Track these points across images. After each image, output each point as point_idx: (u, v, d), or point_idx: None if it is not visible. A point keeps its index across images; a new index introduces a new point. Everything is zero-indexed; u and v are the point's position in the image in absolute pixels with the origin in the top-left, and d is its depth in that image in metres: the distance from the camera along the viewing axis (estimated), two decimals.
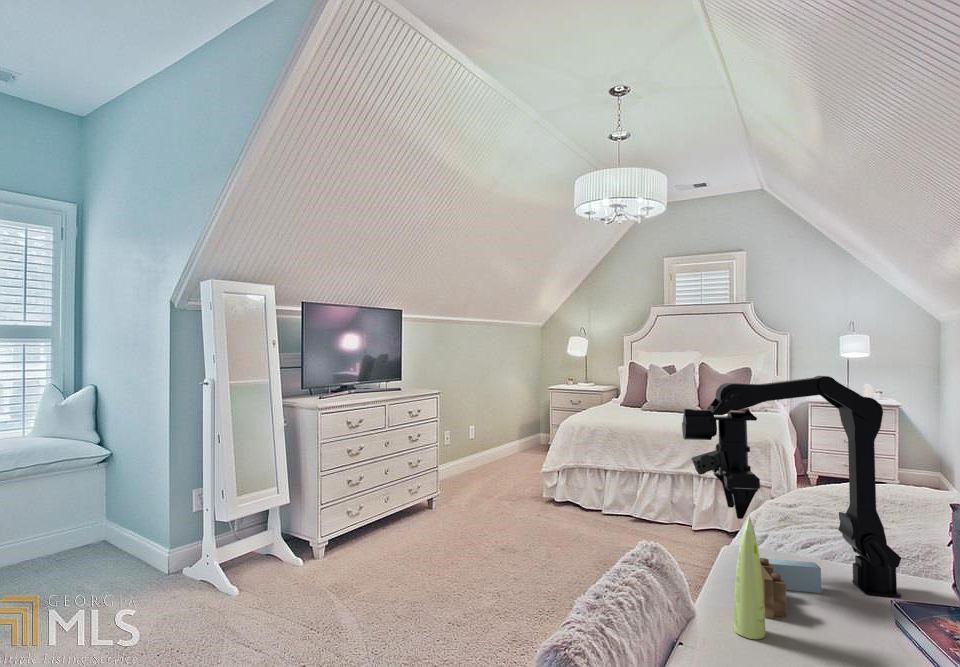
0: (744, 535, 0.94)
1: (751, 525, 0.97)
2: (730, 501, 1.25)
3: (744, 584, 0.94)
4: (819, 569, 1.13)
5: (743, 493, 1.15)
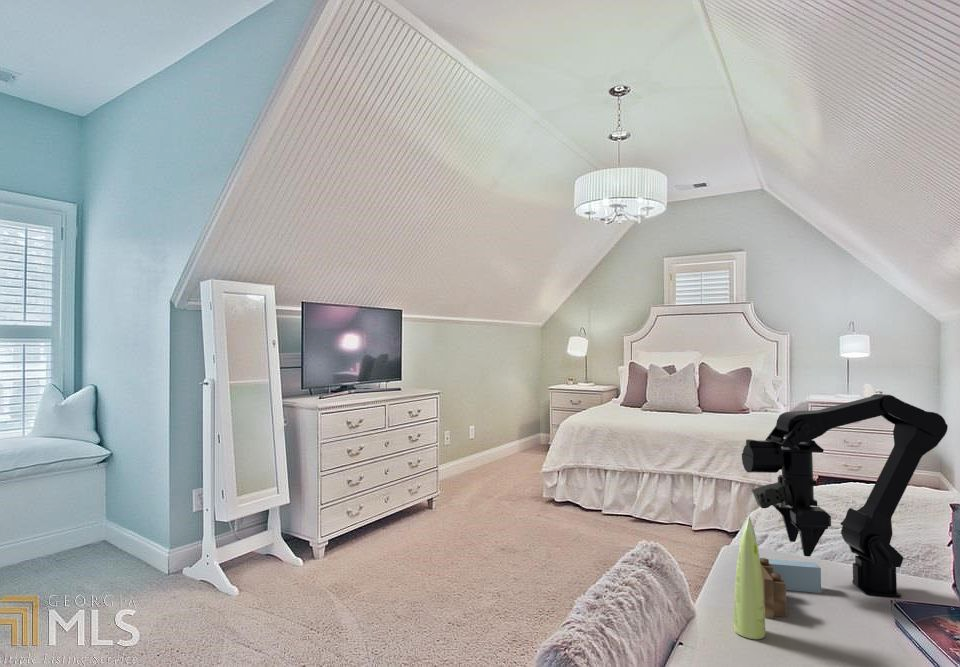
0: (744, 535, 0.94)
1: (751, 525, 0.97)
2: (792, 535, 1.20)
3: (744, 584, 0.94)
4: (819, 569, 1.13)
5: (811, 529, 1.10)
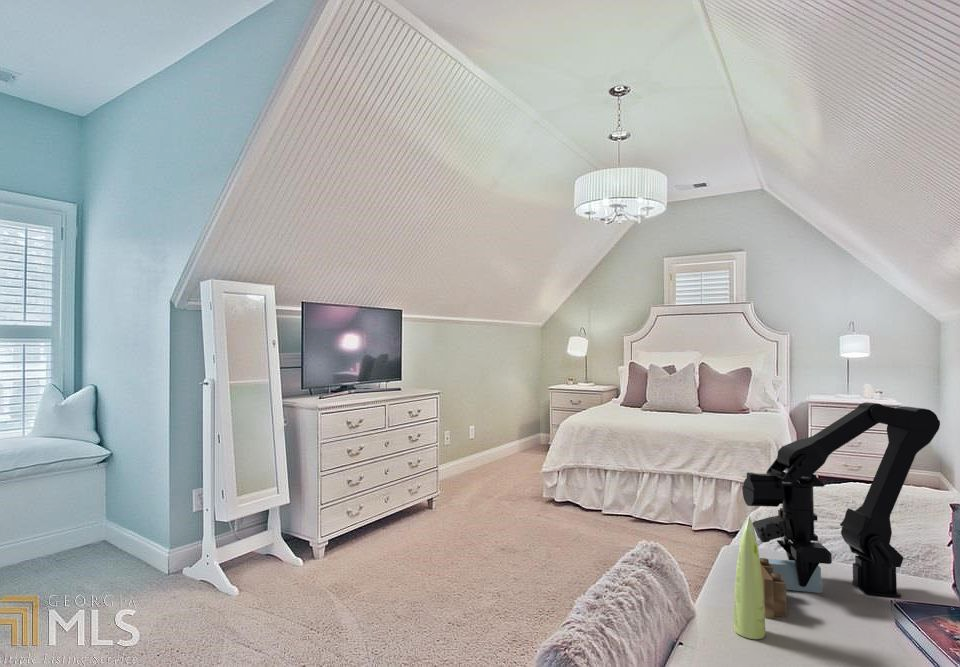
0: (744, 535, 0.94)
1: (751, 525, 0.97)
2: None
3: (744, 584, 0.94)
4: (819, 569, 1.13)
5: None
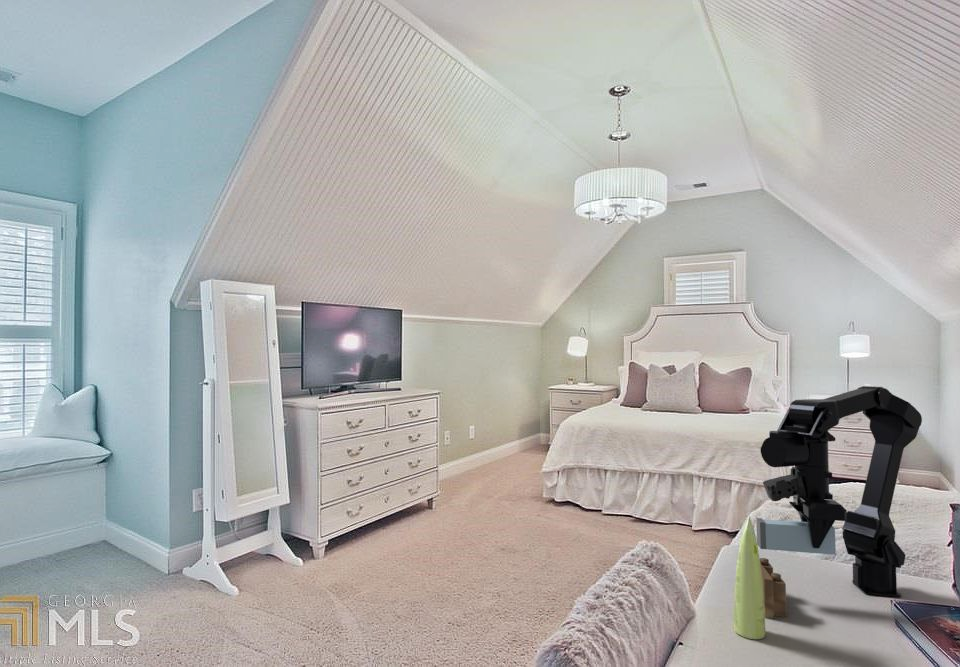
0: (744, 535, 0.94)
1: (751, 525, 0.97)
2: None
3: (744, 584, 0.94)
4: (833, 529, 1.06)
5: (820, 520, 1.06)
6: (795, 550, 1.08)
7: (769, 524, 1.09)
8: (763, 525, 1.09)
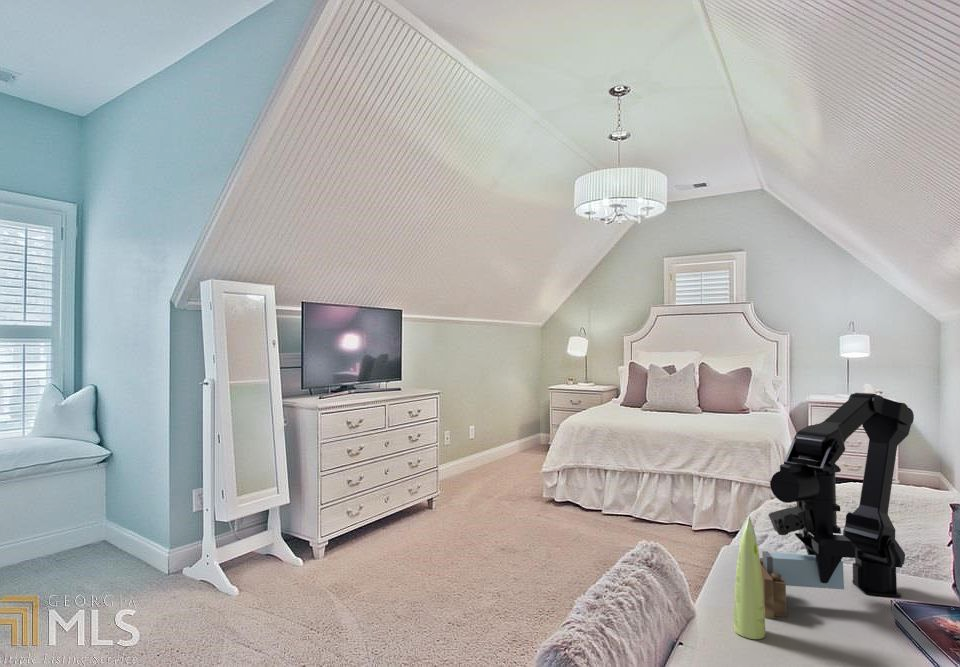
0: (744, 535, 0.94)
1: (751, 525, 0.97)
2: None
3: (744, 584, 0.94)
4: (841, 564, 1.04)
5: None
6: (803, 585, 1.05)
7: (776, 559, 1.07)
8: (770, 560, 1.07)
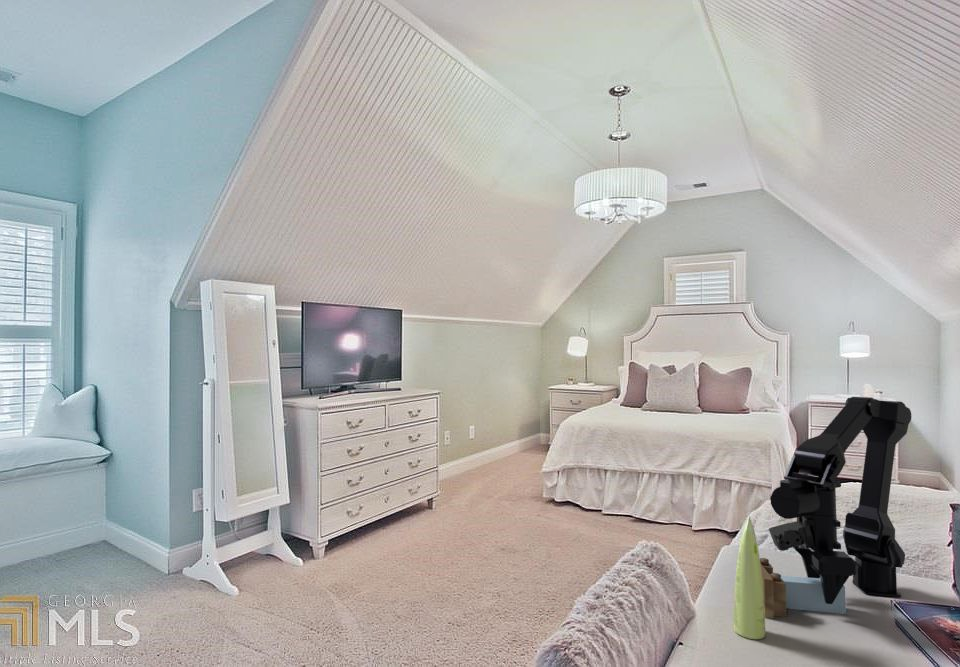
0: (744, 535, 0.94)
1: (751, 525, 0.97)
2: None
3: (744, 584, 0.94)
4: (843, 588, 1.04)
5: (833, 575, 1.01)
6: (804, 608, 1.05)
7: None
8: None
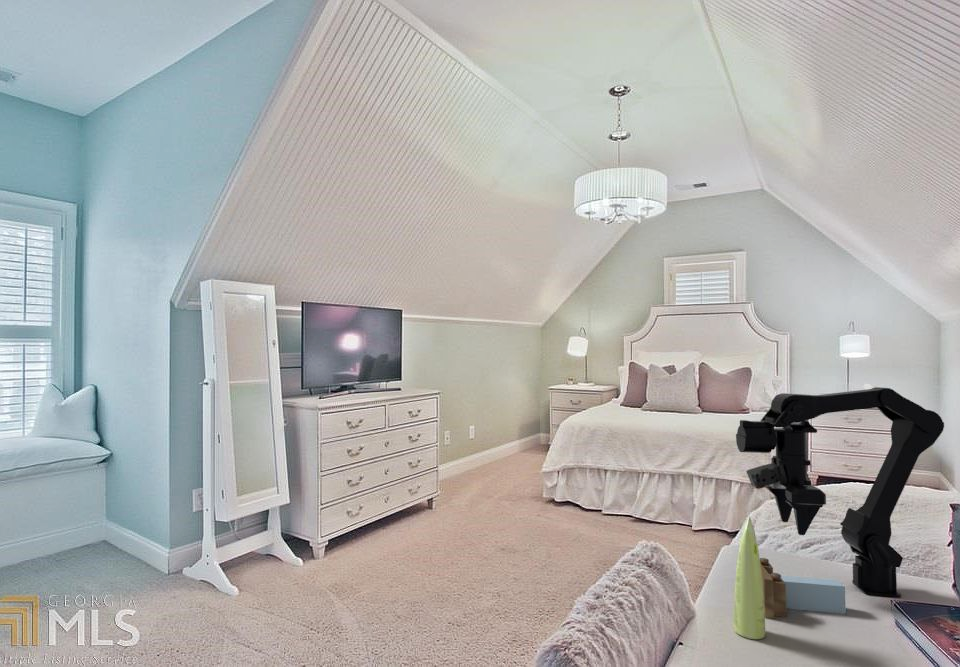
0: (744, 535, 0.94)
1: (751, 525, 0.97)
2: (784, 515, 1.21)
3: (744, 584, 0.94)
4: (843, 588, 1.04)
5: (805, 508, 1.11)
6: (804, 608, 1.05)
7: None
8: None
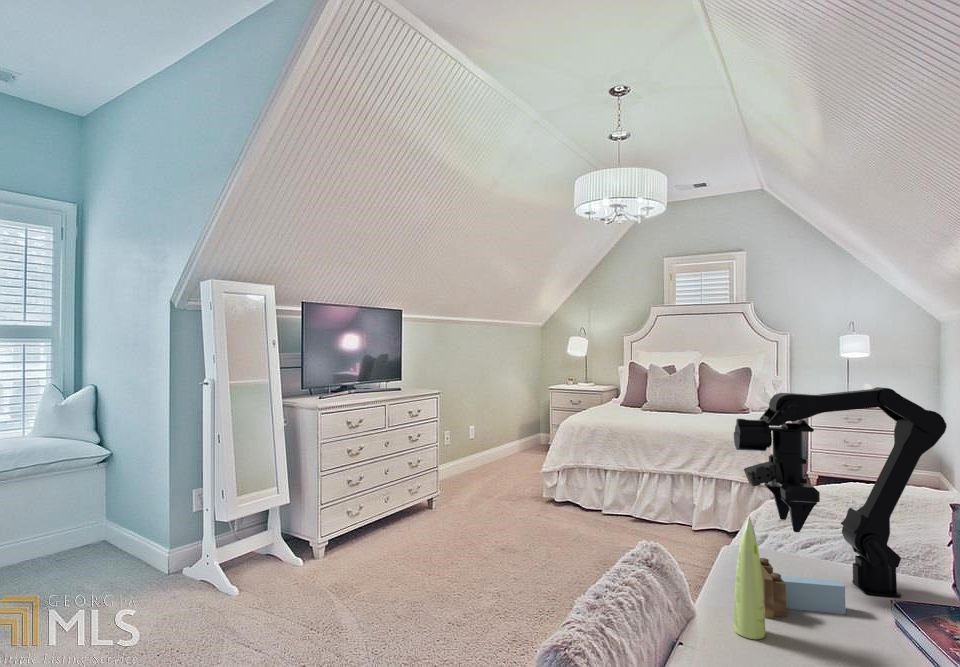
0: (744, 535, 0.94)
1: (751, 525, 0.97)
2: (782, 513, 1.23)
3: (744, 584, 0.94)
4: (843, 588, 1.04)
5: (800, 506, 1.13)
6: (804, 608, 1.05)
7: None
8: None
